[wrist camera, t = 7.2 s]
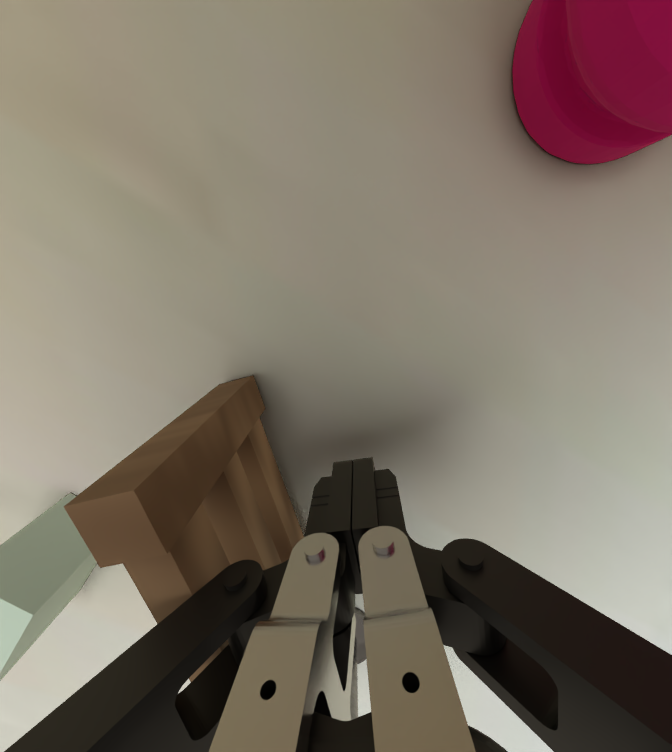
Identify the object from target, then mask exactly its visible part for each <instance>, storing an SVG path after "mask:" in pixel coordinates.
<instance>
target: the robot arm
mask: <svg viewBox="0 0 672 752" xmlns="http://www.w3.org/2000/svg"><path fill="white" fill-rule="evenodd" d="M312 498H313V499H312V501H311V507H310V511H309V516H308V521H307V526H306V531H305V536H304V538H303V539H301V540H300V541H299V542H298V543H297V544H296V545H295V546H294V548H293V550H292V552H291V555H290V558H289V559H288V560H287V561H285V562H283V563H281V564H278V565H276V566H273V567H271V568H268V569H265V570H262V567H261V565H260V564H259V563H258V562H256V561H254V560H249V559H248V560H241V561H237V562H235V563H233V564H231V565H229V566H228V567H226V568H225V569H224V570H222V571H221V572H220V573H219V574H218V575H216V576H215V577H214V578H213V579H212V580H210V581H209V582H208V583H207V584H206V585H204V586H203V587H202V588H201V589H200V590H198V591H197V592H196V593H195V594H193V595H192V596H191V597H190V598H189V599H187V600H186V601H185V602H184V603H183V604H181V605H180V606H179V607H178V608H177V609H175V610H174V611H173V612H172V613H171V614H169V615H168V616H167V617H166V618H165V619H163V620H162V621H161V622H160V623H159V624H157V625H156V626H155V627H154V628H153V629H151V630H150V631H149V632H148V633H147V634H145V635H144V636H143V637H142V638H141V639H139V640H138V641H137V642H136V643H134V644H133V645H132V646H131V647H130V648H128V649H127V650H126V651H125V652H124V653H122V654H121V655H120V656H119V657H118V658H116V659H115V660H114V661H113V662H112V663H110V664H109V665H108V666H107V667H106V668H104V669H103V670H102V671H101V672H100V673H98V674H97V675H96V676H95V677H94V678H92V679H91V680H90V681H89V682H88V683H86V684H85V685H84V686H83V687H81V688H80V689H79V690H78V691H77V692H75V693H74V694H73V695H72V696H71V697H69V698H68V699H67V700H66V701H65V702H63V703H62V704H61V705H60V706H59V707H57V708H56V709H55V710H54V711H53V712H51V713H50V714H49V715H48V716H47V717H45V718H44V719H43V720H42V721H41V722H39V723H38V724H37V725H36V726H35V727H33V728H32V729H31V730H30V731H28V732H27V733H26V734H25V735H24V736H22V737H21V738H20V739H19V740H18V741H16V742H15V743H14V744H13V745H12V746H10V747H9V748H8V749H7V750H6V751H4V752H507V751H506V750H505V749H504V748H503V747H501V746H500V745H499V744H498V743H496V742H495V741H494V740H492V739H491V738H490V737H488V736H486V735H485V734H483V733H481V732H480V731H478V730H477V729H474V728H472V727H470V726H468V724H467V721H466V718H465V715H464V711H463V708H462V705H461V702H460V698H459V695H458V692H457V689H456V685H455V682H454V679H453V675H452V672H451V669H450V666H449V662H448V659H447V656H446V653H445V649H444V646H443V645H446V646H449V647H453V649H454V651H455V653H456V655H457V656H458V657H459V659H460V660H461V661H462V662H463V663H464V664H465V665H466V666H467V667H468V668H469V669H470V670H471V671H472V672H473V673H474V674H475V675H476V676H477V677H478V678H479V679H481V680H482V681H483V682H484V683H485V684H486V685H487V686H488V687H489V688H490V689H491V690H492V691H493V692H494V693H495V694H496V695H497V696H498V697H499V698H500V699H501V700H502V701H503V702H504V703H505V704H506V705H507V706H508V707H509V708H510V709H511V710H512V711H513V712H514V713H515V714H516V715H517V716H518V717H519V718H520V719H521V720H522V721H523V722H524V723H525V724H526V725H527V726H528V727H529V728H530V729H531V730H532V731H534V732H535V733H536V734H537V735H538V736H539V737H540V738H541V739H542V740H543V741H544V742H545V743H546V744H547V745H548V746H549V747H550V748H551V749H552V750H553V751H554V752H672V655H670V654H669V653H667V652H665V651H664V650H662V649H660V648H659V647H657V646H655V645H654V644H652V643H650V642H649V641H647V640H645V639H644V638H642V637H640V636H639V635H637V634H635V633H634V632H632V631H630V630H629V629H627V628H625V627H624V626H622V625H620V624H619V623H617V622H615V621H614V620H612V619H610V618H609V617H607V616H605V615H604V614H602V613H600V612H599V611H597V610H595V609H594V608H592V607H590V606H589V605H587V604H585V603H584V602H582V601H580V600H579V599H577V598H575V597H574V596H572V595H570V594H569V593H567V592H565V591H564V590H562V589H560V588H559V587H557V586H555V585H554V584H552V583H550V582H549V581H547V580H545V579H544V578H542V577H540V576H539V575H537V574H535V573H534V572H532V571H530V570H528V569H527V568H525V567H523V566H522V565H520V564H518V563H517V562H515V561H513V560H512V559H510V558H508V557H507V556H505V555H503V554H502V553H500V552H498V551H497V550H495V549H493V548H492V547H490V546H488V545H487V544H485V543H483V542H480V541H478V540H474V539H457V540H454V541H452V542H450V543H448V544H447V545H446V546H445V547H444V549H443V550H442V551H440V550H435V549H430V548H426V547H423V546H421V545H419V544H417V543H416V542H414V541H413V540H412V539H411V538H410V536H409V535H408V533H407V531H406V528H405V522H404V517H403V512H402V507H401V502H400V497H399V491H398V486H397V481H396V477H395V475H394V474H393V473H392V472H391V471H390V470H389V469H384V470H376V471H375V468H374V462H373V458H372V457H371V458H363V459H356V460H349V461H341V462H334V463H333V471H332V476H330V477H322V478H321V479H320V480H319V482H318V483H317V484H316V486H315V487H314V491H313V496H312ZM362 593H363V600H364V610H365V617H364V618H363V624H364V636H365V647H366V658H367V669H368V680H369V691H370V701H371V712H370V713H368V714H365V715H363V716H360V717H358V718H355V719H353V720H351V714H350V695H351V682H352V668H353V655H354V642H355V629H356V618H355V613H354V612H355V594H362ZM226 640H227V641H228V643H229V644H228V645H227V646H226V647H225V648H224V649H223V650H222V652H221V653H220V654H219V655H218V656H217V657H216V658H215V659H214V660H213V661H212V662H211V663H210V664H209V665H208V666H207V667H206V668H205V669H204V670H203V671H202V672H201V673H200V674H199V675H198V676H197V677H196V678H195V679H194V680H193V681H192V682H191V683H190V684H189V685H188V686H187V687H186V688H185V689H184V690H183V691H182V692H180V693H179V694H178V692H179V690H180V688H181V687H182V685H183V684H184V683H185V682H186V681H187V680H188V679H189V678H190V677H191V676H192V675H193V674H194V673H195V672H196V671H197V670H198V668H199V667H200V666H201V665H202V664H203V663H204V662H205V661H206V660H207V659H208V658H209V657H210V656H211V655H212V654H213V653H214V652H215V651H216V650H217V649H218V648H219V647H220V646H221V645H222V644H223V643H224V642H225V641H226Z"/></svg>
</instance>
